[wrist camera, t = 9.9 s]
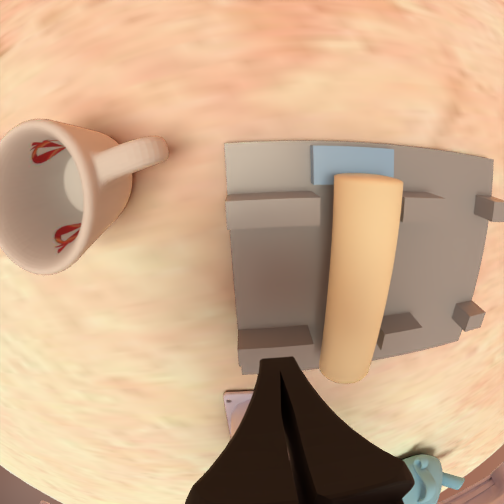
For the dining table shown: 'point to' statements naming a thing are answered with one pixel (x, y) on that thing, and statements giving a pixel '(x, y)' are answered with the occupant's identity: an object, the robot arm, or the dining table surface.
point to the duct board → (320, 237)
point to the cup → (64, 189)
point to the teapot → (428, 479)
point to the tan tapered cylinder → (359, 271)
